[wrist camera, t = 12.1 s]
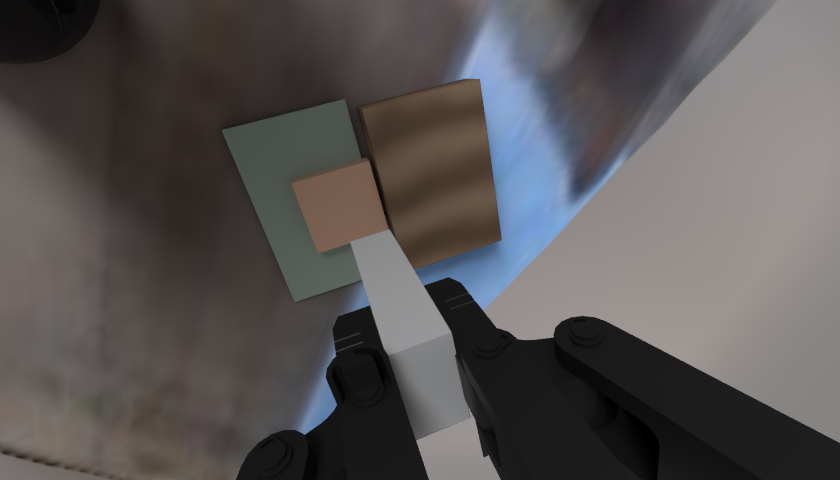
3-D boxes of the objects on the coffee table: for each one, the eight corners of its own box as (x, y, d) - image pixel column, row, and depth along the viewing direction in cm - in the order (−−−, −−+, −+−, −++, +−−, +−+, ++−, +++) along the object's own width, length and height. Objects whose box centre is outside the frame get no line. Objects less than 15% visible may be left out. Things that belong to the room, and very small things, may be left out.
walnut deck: (356, 106, 40) (362, 109, 37) (464, 78, 42) (479, 79, 39) (397, 257, 48) (405, 272, 44) (487, 228, 50) (501, 240, 46)
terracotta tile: (291, 178, 40) (291, 183, 39) (366, 157, 42) (369, 160, 40) (317, 246, 44) (318, 253, 42) (385, 224, 45) (388, 230, 43)
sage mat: (222, 129, 38) (221, 130, 37) (344, 98, 40) (344, 99, 39) (294, 299, 46) (294, 302, 46) (391, 267, 48) (392, 269, 48)
